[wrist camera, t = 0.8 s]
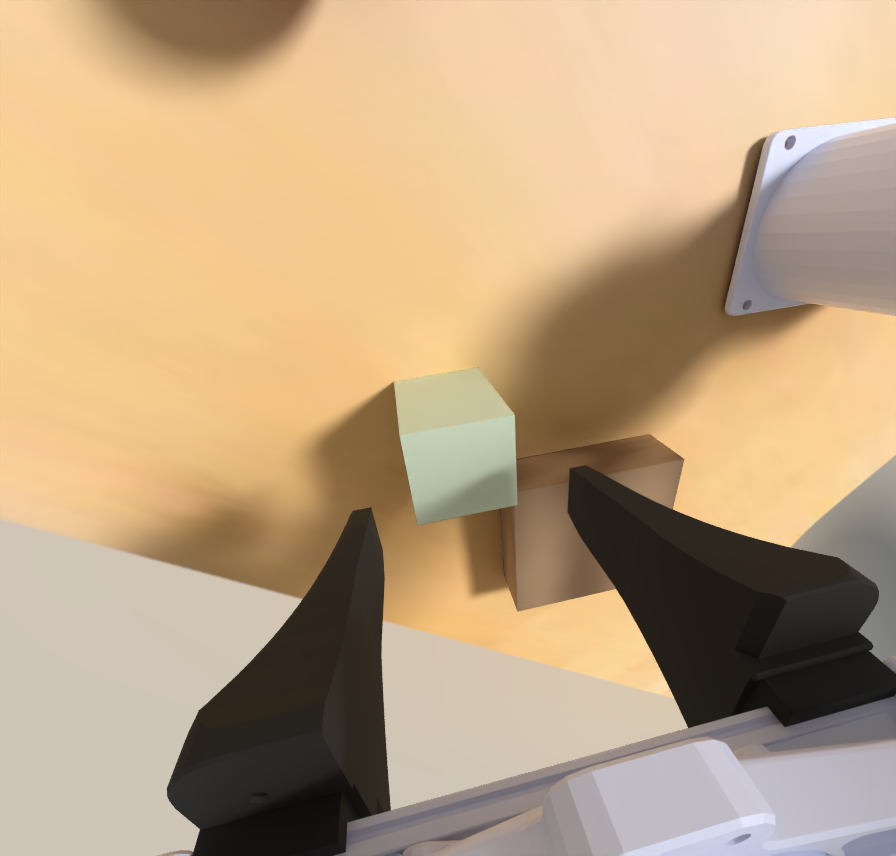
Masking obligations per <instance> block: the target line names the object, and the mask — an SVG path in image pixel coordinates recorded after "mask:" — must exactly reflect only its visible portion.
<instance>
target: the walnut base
mask: <svg viewBox="0 0 896 856" xmlns="http://www.w3.org/2000/svg"><path fill="white" fill-rule="evenodd" d="M683 462H684V459H683V458H682V457H681V456H679V455H678V454H676V453H675V452H674V451H672V450H671V449H670V448H668V447H667V446H665V445H664V444H663V443H661V442H660V441H658V440H657V439H656V438H654V437H653V436H652V435H650V434H649V435H644V436H638V437H633V438H628V439H623V440H617V441H612V442H607V443H602V444H596V445H591V446H586V447H581V448H575V449H570V450H565V451H560V452H554V453H549V454H544V455H539V456H533V457H528V458H523V459H518V460H516V473H517V505H515V506H510V507H505V508H500V510H501V528H502V545H503V563H504V576H505V579H506V582H507V584H508V587H509V590H510V592H511V595H512V598H513V600H514V603H515V606H516V609H517V611H522V610H526V609H531V608H535V607H539V606H544V605H548V604H552V603H557V602H561V601H565V600H570V599H574V598H579V597H583V596H587V595H592V594H596V593H600V592H605V591H609V590H613V589H616V588H615V586H614V585H613V583H612V582H611V581H610V579H609V578H608V576H607V575H606V573H605V572H604V571H603V569H602V568H601V566H600V565H599V563H598V562H597V561H596V559H595V558H594V556H593V555H592V553H591V552H590V550H589V549H588V548H587V546H586V545H585V543H584V542H583V540H582V539H581V537H580V536H579V534H578V532H577V530H576V528H575V526H574V524H573V522H572V520H571V518H570V516H569V514H568V512H567V508H568V490H569V472H570V468H574V467H579V466H584V465H586V466H588V467H590V468H592V469H594V470H596V471H598V472H600V473H602V474H604V475H605V476H607V477H609V478H611V479H613V480H615V481H616V482H618V483H620V484H622V485H624V486H626V487H628V488H629V489H631V490H633V491H635V492H637V493H639V494H641V495H643V496H645V497H647V498H649V499H651V500H653V501H655V502H657V503H660V504H662V505H664V506H666V507H668V508H670V509H673V506H674V501H675V497H676V493H677V488H678V484H679V480H680V475H681V471H682V467H683Z"/></svg>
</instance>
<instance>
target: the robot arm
mask: <svg viewBox="0 0 896 856" xmlns="http://www.w3.org/2000/svg"><path fill="white" fill-rule="evenodd" d="M786 140H787V145H786V147H785V142H786ZM744 303H745V305H744V306H743V304H744ZM811 303H812V304H818V305H825V306H832V307H838V308H845V309H852V310H858V311H865V312H872V313H878V314H885V315H891V316H896V117H895V118H886V119H877V120H868V121H859V122H850V123H841V124H832V125H823V126H814V127H806V128H797V129H788V130H781V131H777V132H774V133H772V134H771V135H770V136H768V138H767V139H766V141H765V142H764V145H763V148H762V153H761V157H760V161H759V165H758V169H757V174H756V178H755V182H754V186H753V190H752V195H751V199H750V203H749V207H748V212H747V216H746V220H745V224H744V228H743V233H742V237H741V241H740V245H739V249H738V254H737V258H736V262H735V266H734V270H733V275H732V279H731V283H730V287H729V292H728V296H727V300H726V304H725V312H726V313H727V314H728V315H733V316H737V315H743V314H749V313H755V312H762V311H768V310H774V309H780V308H786V307H793V306H799V305H805V304H811ZM567 512H568V514H569V516H570V518H571V520H572V522H573V524H574V526H575V528H576V530H577V532H578V534H579V536H580V537H581V539H582V540H583V542H584V543H585V545H586V546H587V548H588V549H589V550H590V552H591V553H592V555H593V556H594V558H595V559H596V561H597V562H598V563H599V565H600V566H601V568H602V569H603V571H604V572H605V573H606V575H607V576H608V578H609V579H610V581H611V582H612V583H613V585H614V586H615V588H616V589H617V591H618V592H619V594H620V596H621V597H622V599H623V600H624V602H625V604H626V606H627V607H628V609H629V611H630V613H631V615H632V616H633V618H634V620H635V622H636V623H637V625H638V627H639V629H640V631H641V633H642V635H643V636H644V638H645V640H646V642H647V644H648V646H649V648H650V650H651V652H652V653H653V655H654V657H655V659H656V661H657V663H658V665H659V667H660V669H661V671H662V673H663V675H664V677H665V679H666V681H667V683H668V686H669V688H670V690H671V692H672V694H673V696H674V698H675V700H676V702H677V705H678V706H679V709H680V711H681V713H682V715H683V717H684V720H685V722H686V724H687V726H688V728H687V729H684V730H681V731H676V732H673V733H669V734H666V735H662V736H659V737H655V738H651V739H648V740H644V741H641V742H637V743H633V744H629V745H626V746H622V747H619V748H615V749H611V750H608V751H604V752H601V753H597V754H593V755H590V756H586V757H583V758H580V759H575V760H572V761H568V762H565V763H561V764H557V765H554V766H550V767H546V768H543V769H539V770H536V771H532V772H528V773H525V774H521V775H518V776H514V777H510V778H507V779H503V780H499V781H496V782H492V783H489V784H486V785H481V786H478V787H474V788H471V789H467V790H464V791H460V792H456V793H453V794H449V795H445V796H442V797H438V798H435V799H431V800H428V801H424V802H420V803H416V804H413V805H409V806H406V807H402V808H399V809H395V810H391V807H390V795H389V782H388V769H387V768H388V767H387V753H386V737H385V721H384V703H383V682H382V659H381V647H382V646H381V642H382V623H383V603H384V580H385V577H384V561H383V550H382V546H381V542H380V539H379V535H378V531H377V528H376V524H375V520H374V517H373V513H372V509H371V508H365V509H360V510H355V511H353V512H352V513H351V515H350V517H349V519H348V522H347V524H346V526H345V528H344V530H343V532H342V534H341V536H340V538H339V540H338V542H337V544H336V546H335V548H334V550H333V552H332V554H331V555H330V557H329V559H328V561H327V563H326V564H325V566H324V567H323V569H322V571H321V572H320V574H319V576H318V577H317V579H316V581H315V582H314V584H313V585H312V587H311V588H310V590H309V591H308V593H307V594H306V596H305V597H304V598H303V600H302V601H301V603H300V604H299V605H298V607H297V608H296V609H295V611H294V612H293V613H292V615H291V616H290V617H289V618H288V620H287V621H286V622H285V623H284V625H283V626H282V627H281V628H280V630H279V631H278V632H277V633H276V634H275V636H274V637H273V638H272V639H271V640H270V641H269V642H268V644H267V645H266V646H265V647H264V648H263V649H262V650H261V651H260V652H259V653H258V654H257V655H256V657H254V659H253V660H252V661H251V662H250V663H249V664H248V665H247V666H246V667H245V668H244V669H243V670H242V671H241V672H240V673H239V674H238V675H237V676H236V677H235V678H234V679H233V680H232V681H231V682H229V683H228V684H227V685H226V686H225V687H224V688H223V689H222V690H221V691H220V692H219V693H218V694H217V695H216V696H214V697H213V698H212V699H211V700H210V701H209V702H208V703H207V704H206V705H205V706H204V707H202V708H201V709H200V710H199V712H198V714H197V716H196V718H195V720H194V722H193V724H192V726H191V729H190V730H189V733H188V735H187V738H186V740H185V743H184V745H183V748H182V750H181V753H180V755H179V758H178V761H177V763H176V766H175V769H174V771H173V774H172V776H171V779H170V782H169V784H168V787H167V796H168V799H169V801H170V802H171V804H172V805H173V806H174V808H175V809H176V810H178V811H179V812H180V813H181V814H182V815H184V816H185V817H186V818H187V819H188V820H190V821H191V822H192V823H193V824H195V825H196V826H197V827H198V828H199V829H200V832H199V835H198V838H197V842H196V845H195V848H194V852H192V851H183V850H181V851H174V852H169V853H166V854H162V855H158V856H896V655H895V656H892V657H890V658H888V659H887V660H885V661H884V662H881V661H880V660H879V659H878V658H877V657H875V656H874V655H873V654H872V653H871V652H869V650H871V649H872V648H873V645H872V643H871V642H870V641H869V640H868V639H867V638H865V637H864V636H863V635H861V634H860V633H859V632H858V631H859V630H860V628H861V627H862V626H863V624H864V623H865V621H866V620H867V618H868V617H869V615H870V614H871V612H872V611H873V609H874V607H875V605H876V604H877V602H878V597H879V590H878V588H877V586H876V584H875V583H874V582H872V581H871V580H869V579H868V578H867V577H865V576H864V575H862V574H861V573H860V572H858V571H857V570H855V569H854V568H852V567H851V566H849V565H848V564H847V563H845V562H844V561H842V560H841V559H839V558H837V557H833V556H828V555H823V554H818V553H813V552H809V551H804V550H799V549H794V548H790V547H785V546H781V545H778V544H774V543H770V542H766V541H762V540H758V539H755V538H751V537H748V536H744V535H741V534H738V533H735V532H732V531H729V530H725V529H722V528H719V527H716V526H713V525H711V524H708V523H705V522H702V521H700V520H697V519H695V518H692V517H690V516H687V515H684V514H682V513H680V512H677V511H675V510H673V509H670V508H668V507H666V506H664V505H662V504H660V503H657V502H655V501H653V500H651V499H649V498H647V497H645V496H643V495H641V494H639V493H637V492H635V491H633V490H631V489H629V488H628V487H626V486H624V485H622V484H620V483H618V482H616V481H615V480H613V479H611V478H609V477H607V476H605V475H604V474H602V473H600V472H598V471H596V470H594V469H592V468H590V467H588V466H586V465H584V466H579V467H574V468H570V472H569V490H568V508H567Z"/></svg>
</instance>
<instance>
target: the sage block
mask: <svg viewBox="0 0 896 856" xmlns="http://www.w3.org/2000/svg"><path fill="white" fill-rule="evenodd" d="M394 388H395V397H396V407H397V416H398V426H399V435H400V440H401V445H402V450H403V455H404V460H405V465H406V470H407V475H408V480H409V485H410V490H411V495H412V500H413V505H414V510H415V515H416V520H417V525H421V524H426V523H431V522H436V521H441V520H446V519H451V518H456V517H461V516H466V515H471V514H476V513H481V512H485V511H490V510H495V509H500V508H505V507H510V506H515V505H517V473H516V438H515V414H514V413H513V412H512V411H511V409H510V408H509V407H508V405H507V404H506V403H505V401H504V400H503V399H502V398H501V396H500V395H499V394H498V392H497V391H496V390H495V389H494V387H493V386H492V385H491V383H490V382H489V381H488V379H487V378H486V377H485V376H484V374H483V373H482V372H481V370H480V369H479V368H472V369H466V370H460V371H454V372H448V373H442V374H436V375H430V376H424V377H418V378H411V379H405V380H399V381H394Z"/></svg>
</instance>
